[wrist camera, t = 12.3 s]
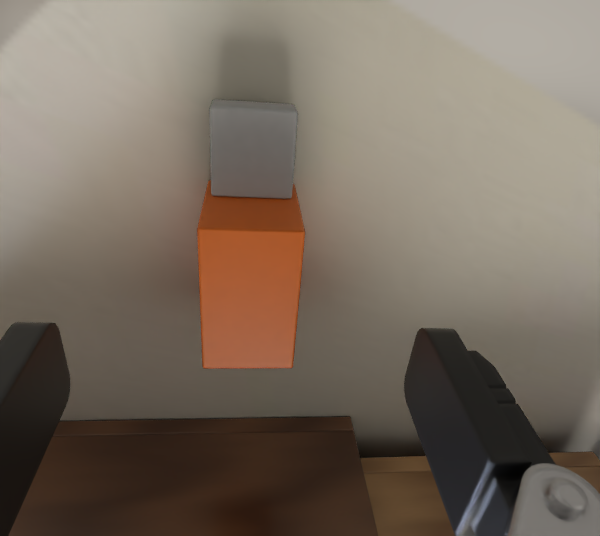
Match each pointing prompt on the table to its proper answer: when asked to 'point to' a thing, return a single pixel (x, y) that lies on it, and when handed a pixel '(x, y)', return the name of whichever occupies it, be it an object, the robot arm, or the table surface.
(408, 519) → the drawer
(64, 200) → the table surface
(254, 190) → the orange and grey block
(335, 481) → the cabinet
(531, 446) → the robot arm
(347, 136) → the table surface
